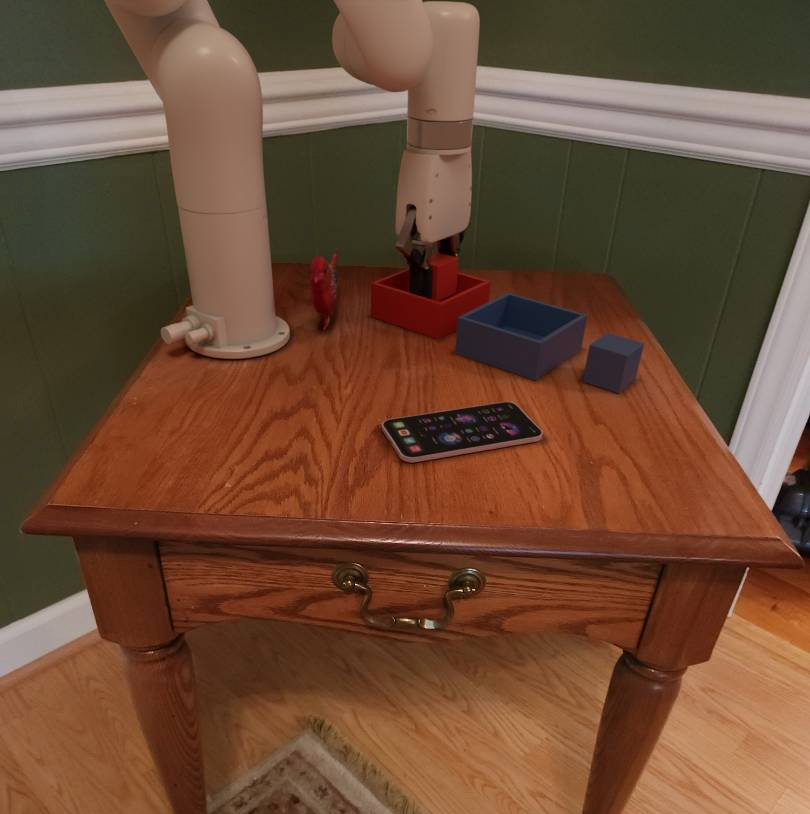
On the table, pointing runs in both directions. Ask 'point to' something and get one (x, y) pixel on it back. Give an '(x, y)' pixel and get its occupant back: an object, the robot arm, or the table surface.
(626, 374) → the blue block
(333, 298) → the decorative bird figurine
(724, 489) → the table surface
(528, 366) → the blue bin
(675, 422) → the table surface
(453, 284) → the red block
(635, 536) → the table surface
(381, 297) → the red bin
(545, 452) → the table surface
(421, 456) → the smartphone
